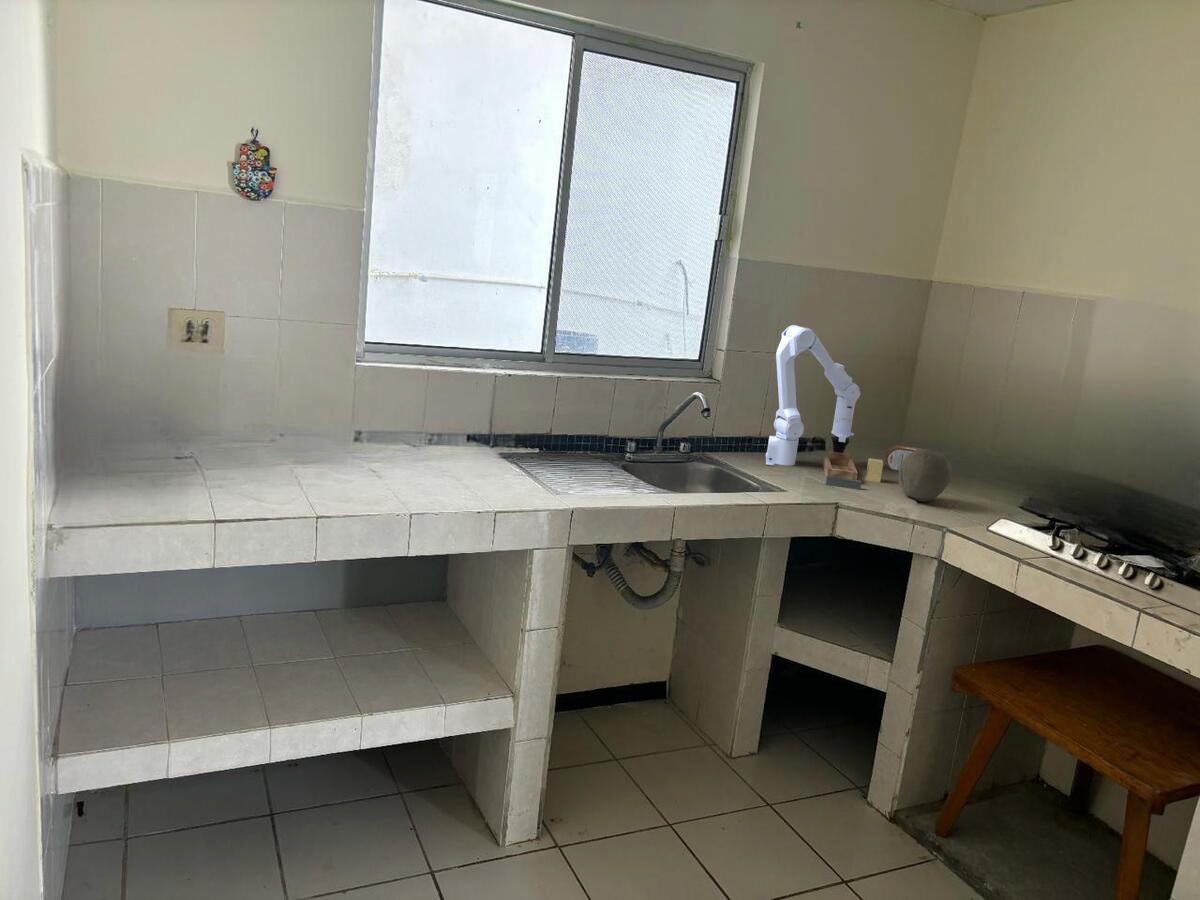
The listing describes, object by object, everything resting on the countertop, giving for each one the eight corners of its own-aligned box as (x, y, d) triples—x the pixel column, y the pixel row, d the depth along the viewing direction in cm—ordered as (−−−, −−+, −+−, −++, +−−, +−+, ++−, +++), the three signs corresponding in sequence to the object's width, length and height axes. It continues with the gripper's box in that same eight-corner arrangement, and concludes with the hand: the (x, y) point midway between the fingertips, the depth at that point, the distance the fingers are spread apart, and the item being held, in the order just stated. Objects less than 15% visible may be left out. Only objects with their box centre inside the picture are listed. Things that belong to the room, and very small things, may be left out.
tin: (928, 474, 307) (932, 449, 305) (930, 476, 304) (935, 451, 302) (881, 468, 308) (886, 443, 306) (883, 470, 305) (887, 445, 303)
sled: (826, 479, 281) (829, 464, 280) (823, 465, 300) (825, 450, 299) (855, 483, 280) (858, 468, 279) (850, 468, 299) (853, 454, 298)
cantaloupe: (939, 510, 261) (949, 458, 258) (889, 499, 268) (897, 448, 265) (950, 501, 273) (959, 451, 270) (901, 490, 280) (910, 441, 277)
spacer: (866, 483, 285) (869, 460, 284) (864, 480, 289) (868, 458, 288) (879, 484, 285) (883, 462, 283) (878, 481, 289) (882, 459, 287)
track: (823, 487, 274) (825, 477, 273) (819, 466, 302) (820, 457, 301) (862, 492, 272) (863, 483, 272) (853, 470, 300) (855, 461, 299)
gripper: (858, 424, 293) (851, 466, 296) (854, 416, 307) (847, 456, 310) (835, 421, 294) (828, 463, 297) (832, 413, 308) (826, 453, 311)
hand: (836, 459), depth 303 cm, fingers closed
